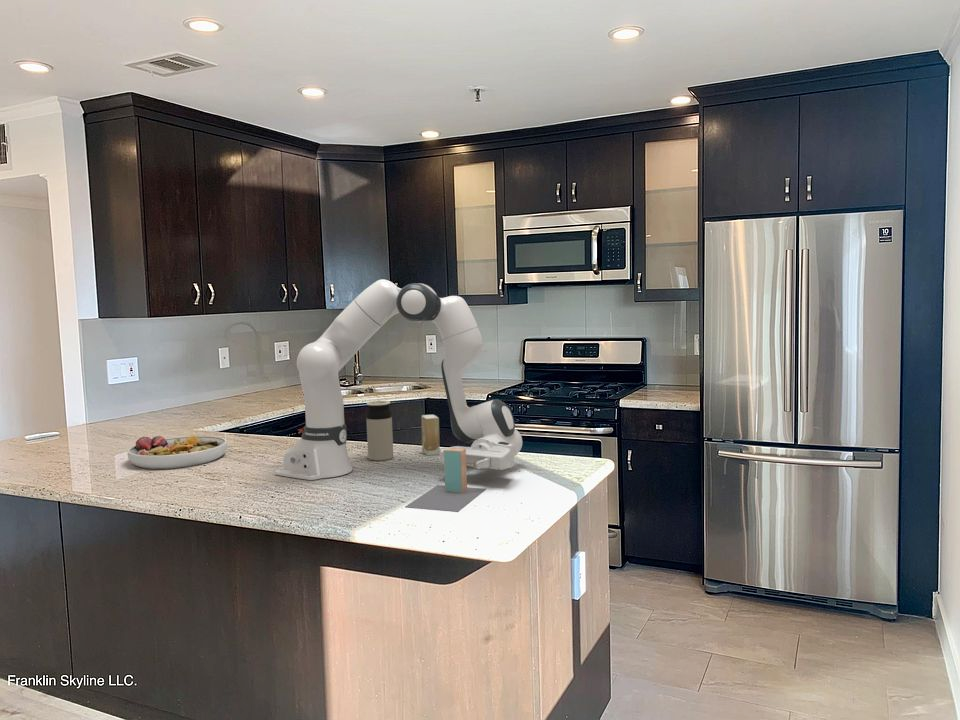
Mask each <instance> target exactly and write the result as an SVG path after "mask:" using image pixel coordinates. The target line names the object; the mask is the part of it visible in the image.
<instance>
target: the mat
mask: <svg viewBox="0 0 960 720" xmlns="http://www.w3.org/2000/svg"><path fill="white" fill-rule="evenodd" d="M485 491H487V488H483V487H482V488H481V487H469V486H467V491H465V492H463V493H455V492H445V484H444V485H439V484H436V486H434V487H432V488H431V489H429V490H428V491H427V492H424V493H423V494H421V495H420V496H419V497H417V498H416V499H415V500H412V501H411V502H410V503H408V504H407V505H405V506H404V508H406V509H417V510H418V509H419V510H430V511H440V512H441V511H442V512H454V513H459V512H460V511H462V509H464V508H465V507H466V506H468V504H470V503H471V502H472V501H474V500H475V499H476V498H478V497H479V496H480V495H481V494H483V493H484V492H485Z"/></svg>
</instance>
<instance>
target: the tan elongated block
mask: <svg viewBox="0 0 960 720" xmlns="http://www.w3.org/2000/svg"><path fill="white" fill-rule="evenodd" d="M446 448H447V449H445V448H443V449H444V465H443V471H444V473H443V475H444V486H445V492H455V493H463V492H465V491H467V487H468V479H467V478H468V477H467V476H468V475H467V466H466V449H461V448H449V447H446Z"/></svg>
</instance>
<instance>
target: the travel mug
mask: <svg viewBox="0 0 960 720" xmlns="http://www.w3.org/2000/svg"><path fill="white" fill-rule="evenodd" d="M390 404H391V401H389V400H372V401H371V400H370V401H368V402H366V405H367V408H368V409H367V410H366V414H365V416H366V418H365V419H366V435H367V437H366V440H367V441H366V442H367V458H368V460H371V461H376V462H379V461H380V462H381V461H388V460H391V459H393V458H394V437H393V435H394V434H393V417H392V416H393V414H392V413H393V412H392V410H391V409H390Z"/></svg>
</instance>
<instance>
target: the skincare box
mask: <svg viewBox="0 0 960 720" xmlns="http://www.w3.org/2000/svg"><path fill="white" fill-rule="evenodd" d="M421 448H422V449H421V451H422V453H424V454H425V455H426V456H434V455H436V456H437V455H440V450H441V449H440V448H441V447H440V418H439V417H438V416H437V415H435V414H425V415H424V414H422V415H421Z"/></svg>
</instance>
